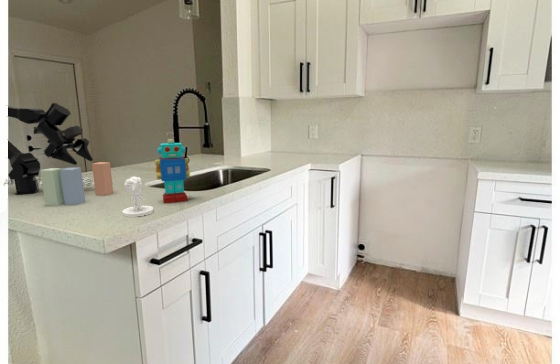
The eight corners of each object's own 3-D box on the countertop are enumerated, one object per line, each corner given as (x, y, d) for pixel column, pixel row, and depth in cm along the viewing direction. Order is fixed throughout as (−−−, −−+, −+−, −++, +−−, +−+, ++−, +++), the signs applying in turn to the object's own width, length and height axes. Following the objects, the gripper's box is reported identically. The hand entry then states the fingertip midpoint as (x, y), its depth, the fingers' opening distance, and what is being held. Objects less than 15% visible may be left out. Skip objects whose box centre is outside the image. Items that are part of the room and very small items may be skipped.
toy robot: (159, 203, 115) (153, 133, 110) (158, 199, 121) (152, 132, 115) (192, 200, 120) (188, 132, 114) (189, 196, 125) (185, 131, 120)
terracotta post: (95, 195, 128) (91, 163, 125) (102, 192, 132) (99, 162, 129) (106, 195, 127) (102, 164, 125) (113, 192, 132) (109, 162, 129)
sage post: (45, 205, 114) (40, 170, 111) (55, 202, 118) (50, 168, 115) (57, 205, 113) (52, 170, 111) (67, 202, 118) (62, 168, 115)
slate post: (64, 204, 115) (59, 169, 112) (73, 201, 119) (69, 167, 117) (76, 204, 114) (72, 169, 112) (85, 201, 119) (80, 167, 116)
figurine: (134, 219, 99) (130, 180, 96) (116, 214, 104) (112, 177, 101) (159, 211, 106) (156, 175, 104) (141, 207, 111) (138, 173, 109)
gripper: (46, 119, 115) (80, 150, 117) (82, 118, 133) (110, 145, 135) (29, 141, 118) (62, 171, 119) (66, 137, 136) (95, 164, 137)
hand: (84, 162), depth 127 cm, fingers open, 9 cm apart
